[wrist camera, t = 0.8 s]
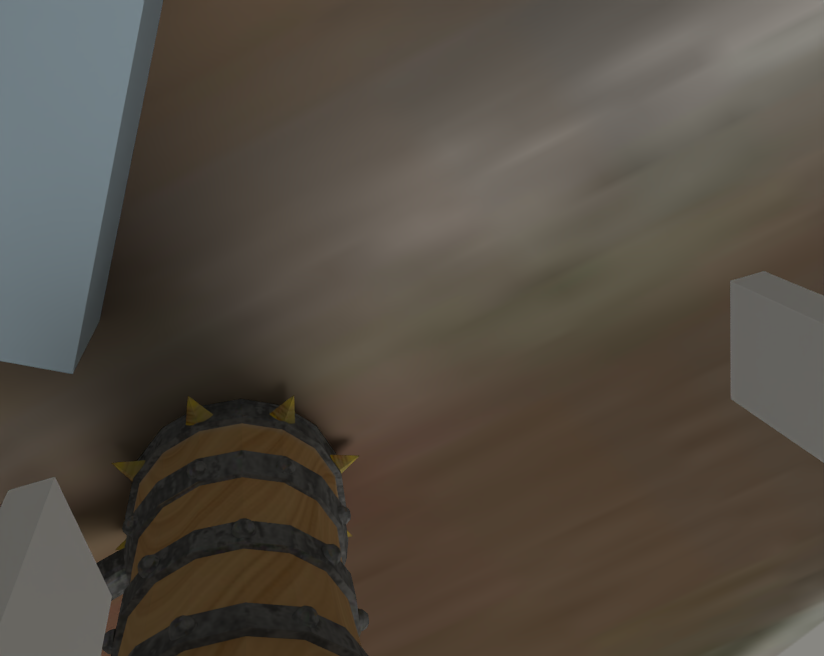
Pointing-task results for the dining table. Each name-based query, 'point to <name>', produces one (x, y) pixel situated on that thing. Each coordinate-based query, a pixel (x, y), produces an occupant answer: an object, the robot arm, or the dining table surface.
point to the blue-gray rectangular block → (65, 164)
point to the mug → (235, 540)
